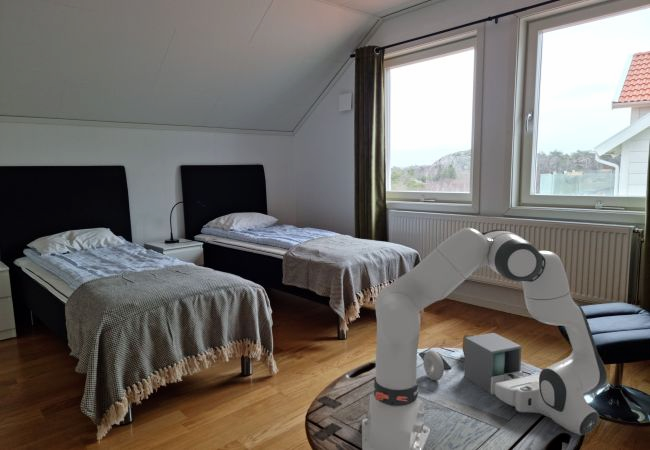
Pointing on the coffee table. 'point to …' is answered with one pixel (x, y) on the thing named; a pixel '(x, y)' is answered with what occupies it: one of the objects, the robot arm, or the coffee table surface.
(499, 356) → the sage green cylinder
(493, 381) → the tray
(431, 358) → the donut
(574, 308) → the robot arm
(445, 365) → the smartphone
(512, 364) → the housing
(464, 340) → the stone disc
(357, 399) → the coffee table surface
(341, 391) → the coffee table surface
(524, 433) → the coffee table surface
